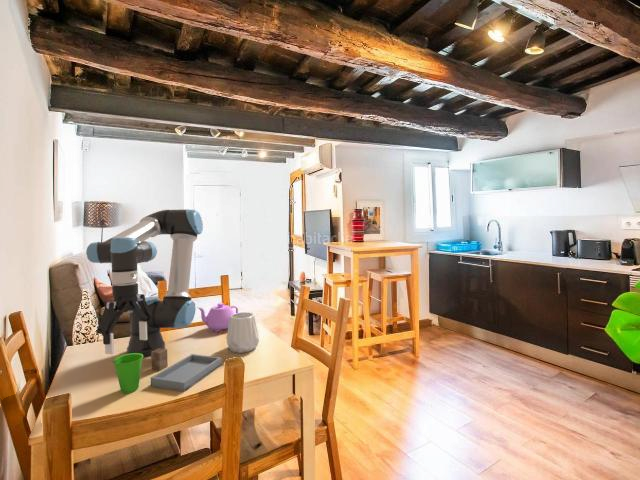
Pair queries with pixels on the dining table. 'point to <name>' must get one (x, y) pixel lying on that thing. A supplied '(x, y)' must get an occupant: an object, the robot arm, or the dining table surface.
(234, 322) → the vase
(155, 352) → the walnut block
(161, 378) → the tray
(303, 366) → the dining table surface
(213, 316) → the teapot
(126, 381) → the cup
